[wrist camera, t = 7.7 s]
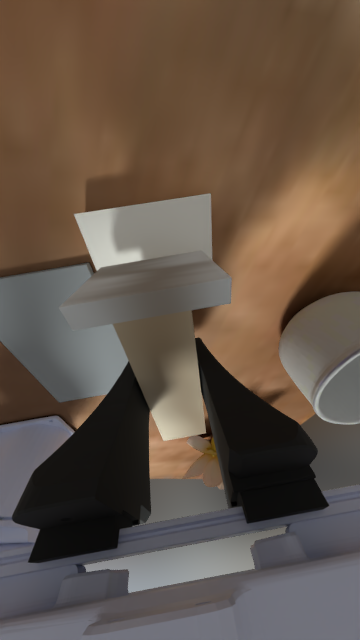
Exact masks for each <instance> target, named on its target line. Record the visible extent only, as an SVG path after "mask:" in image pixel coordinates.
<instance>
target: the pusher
mask: <svg viewBox="0 0 360 640" xmlns="http://www.w3.org/2000/svg"><path fill="white" fill-rule="evenodd" d="M231 281H232V278H231V277H230V276H229V275H228V274H227V273H226V272H225V271H224V270H222V269H221V268H220V267H219V266H218V265H217V264H216V263H215V262H214V261H213V260H212V259H210V258H209V257H208V256H207V255H206V254H205V253H204V252H203V251H202V250H200V251H194V252H188V253H182V254H176V255H170V256H165V257H159V258H153V259H147V260H141V261H135V262H129V263H123V264H118V265H112V266H106V267H101V268H100V269H99V270H98V271H97V272H96V273H94V274H93V275H92V276H91V277H90V278H89V279H88V280H87V281H86V282H85V283H84V284H83V285H82V286H81V287H80V288H79V289H78V290H77V291H76V292H74V293H73V294H72V295H71V296H70V297H69V298H68V299H67V300H66V301H65V302H64V303H63V304H62V305H61V306H60V307H59V309H60V311H61V312H62V314H63V316H64V317H65V319H66V321H67V322H68V324H69V325H70V327H71V329H72V330H73V331H75V330H81V329H86V328H92V327H98V326H104V325H109V324H113V326H114V328H115V331H116V333H117V335H118V337H119V340H120V342H121V344H122V347H123V349H124V351H125V353H126V356H127V358H128V360H129V363H130V365H131V367H132V370H133V372H134V374H135V376H136V379H137V381H138V383H139V386H140V388H141V390H142V392H143V395H144V397H145V399H146V402H147V404H148V406H149V408H150V411H151V413H152V415H153V418H154V420H155V422H156V425H157V427H158V429H159V431H160V434H161V436H162V438H163V441H166V440H172V439H177V438H183V437H188V436H194V435H199V434H205V433H206V428H205V420H204V411H203V403H202V394H201V386H200V377H199V369H198V360H197V352H196V343H195V335H194V326H193V318H192V310H196V309H201V308H207V307H213V306H219V305H224V304H230V303H231Z"/></svg>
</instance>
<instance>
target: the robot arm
mask: <svg viewBox="0 0 360 640" xmlns="http://www.w3.org/2000/svg"><path fill="white" fill-rule="evenodd" d="M195 343H196V352H197V360H198V369H199V377H200V386H201V393H202V396H203V399H204V402H205V405H206V409H207V412H208V417H209V421H210V425H211V430H212V434H213V439H214V443H215V448H216V453H217V457H218V462H219V466H220V471H221V476H222V480H223V485H224V490H225V494H226V499H227V504H228V508H229V509H225V510H220V511H214V512H209V513H204V514H198V515H193V516H187V517H182V518H177V519H171V520H166V521H161V522H155V523H150V524H145V525H140V526H135V527H132V526H134V525H139V524H142V523H145V522H146V521H147V520H148V518H149V516H150V514H151V502H150V477H149V413H150V408H149V406H148V404H147V402H146V399H145V397H144V395H143V392H142V390H141V388H140V386H139V383H138V381H137V379H136V376H135V374H134V372H133V370H132V367H131V365H130V363H129V361H128V363H127V365H126V366H125V368H124V370H123V371H122V373H121V375H120V376H119V378H118V379H117V381H116V382H115V384H114V385H113V387H112V388H111V390H110V391H109V393H108V394H107V395H106V397H105V398H104V399H103V400H102V402H101V403H100V404H99V406H98V407H97V408H96V409H95V410H94V411H93V413H92V414H91V415H90V416H89V417H88V418H87V420H86V421H85V422H84V423H83V424H82V425H81V426H80V427H79V428H78V429H77V430H76V431H74V430H73V429H72V428H71V427H70V426H68V425H67V424H66V423H65V422H64V421H63V420H62V419H61V418H60V417H59V416H50V417H44V418H39V419H33V420H27V421H22V422H16V423H11V424H5V425H0V640H360V484H359V485H353V486H347V487H342V488H337V489H331V490H326V491H321V490H320V488H319V487H318V485H317V483H316V481H315V480H314V478H315V477H316V476H315V474H314V472H313V470H312V469H311V467H310V464H311V462H312V461H313V460H314V459H315V457H316V455H317V452H318V450H317V448H316V446H315V445H314V443H313V442H312V440H311V439H310V437H309V436H308V435H307V434H306V432H305V431H304V430H303V429H302V427H301V426H300V425H299V424H298V422H296V421H295V420H293V419H291V418H290V417H288V416H286V415H285V414H283V413H281V412H280V411H278V410H277V409H275V408H274V407H272V406H271V405H269V404H268V403H266V402H265V401H263V400H262V399H261V398H259V397H258V396H257V395H255V394H254V393H253V392H251V391H250V390H249V389H247V388H246V387H245V386H244V385H242V384H241V383H240V382H239V381H238V380H236V379H235V378H234V377H233V376H232V375H231V374H230V373H229V372H228V371H227V370H226V369H225V368H224V367H223V366H222V365H221V364H220V363H219V362H218V361H217V360H216V359H215V357H214V356H213V355H212V354H211V353H210V351H209V350H208V349H207V347H206V346H205V345H204V343H203V342H202V340H201V339H200V338H195ZM287 526H288V527H287ZM282 527H287V528H286V531H285V532H286V533H285V534H281V535H277V536H273V537H269V538H265V539H261V540H257V541H255V543H254V545H252V546H251V548H250V549H251V553H252V556H253V560H254V565H255V569H252V570H247V571H241V572H236V573H231V574H225V575H220V576H215V577H210V578H204V579H200V580H194V581H189V582H184V583H178V584H173V585H168V586H163V587H158V588H153V589H147V590H143V591H137V592H132V593H128V577H129V571H128V570H109V569H106V570H99V571H92V572H86V569H85V567H84V566H83V565H86V564H92V563H97V562H102V561H108V560H113V559H118V558H124V557H129V556H134V555H139V554H144V553H150V552H155V551H161V550H166V549H171V548H176V547H182V546H187V545H192V544H197V543H202V542H208V541H213V540H218V539H224V538H229V537H235V536H240V535H245V534H250V533H256V532H261V531H266V530H272V529H277V528H282Z"/></svg>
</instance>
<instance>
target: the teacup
mask: <svg viewBox="0 0 360 640" xmlns="http://www.w3.org/2000/svg"><path fill="white" fill-rule="evenodd" d="M279 356H280V360H281V362H282V364H283V366H284V368H285V370H286V371H287V373H288V374H289V376H290V377H291V378H292V380H293V381H294V382H295V384H296V385H297V387H298V388H299V389H300V390H301V392H302V393H303V394H304V395H305V397H306V398H307V399H308V401H309V402H310V403H311V404H312V406H313V409H314V411H315V412H316V414H317V415H318V416H319V417H320V418H322V419H323V420H325V421H328V422H331V423H336V424H357V423H360V292H359V291H358V292H342V293H337V294H333V295H329V296H327V297H324V298H321V299H319V300H317V301H315V302H313V303H311V304H310V305H308V306H306V307H305V308H303V309H302V310H301V311H299V312H298V313H297V314H296V315H295V316H294V317H293V318H292V319H291V320H290V322H289V323H288V325H287V326H286V328H285V329H284V331H283V333H282V335H281V338H280V342H279Z"/></svg>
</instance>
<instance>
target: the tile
mask: <svg viewBox="0 0 360 640" xmlns="http://www.w3.org/2000/svg"><path fill="white" fill-rule="evenodd" d="M74 216H75V218H76V221H77V223H78V226H79V228H80V230H81V233H82V235H83V238H84V240H85V243H86V245H87V248H88V250H89V253H90V255H91V258H92V260H93V263H94V265H95V268H96V270H97V271H98V270H99V269H100V268H101V267H106V266H112V265H118V264H123V263H129V262H135V261H141V260H147V259H153V258H159V257H165V256H170V255H176V254H182V253H188V252H194V251H200V250H202V251H203V252H204V253H205V254H206V255H207V256H208V257H209V258H210V259H212V223H211V193H209V194H203V195H196V196H190V197H183V198H177V199H170V200H163V201H157V202H150V203H144V204H137V205H131V206H124V207H117V208H111V209H104V210H98V211H91V212H85V213H78V214H74Z"/></svg>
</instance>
